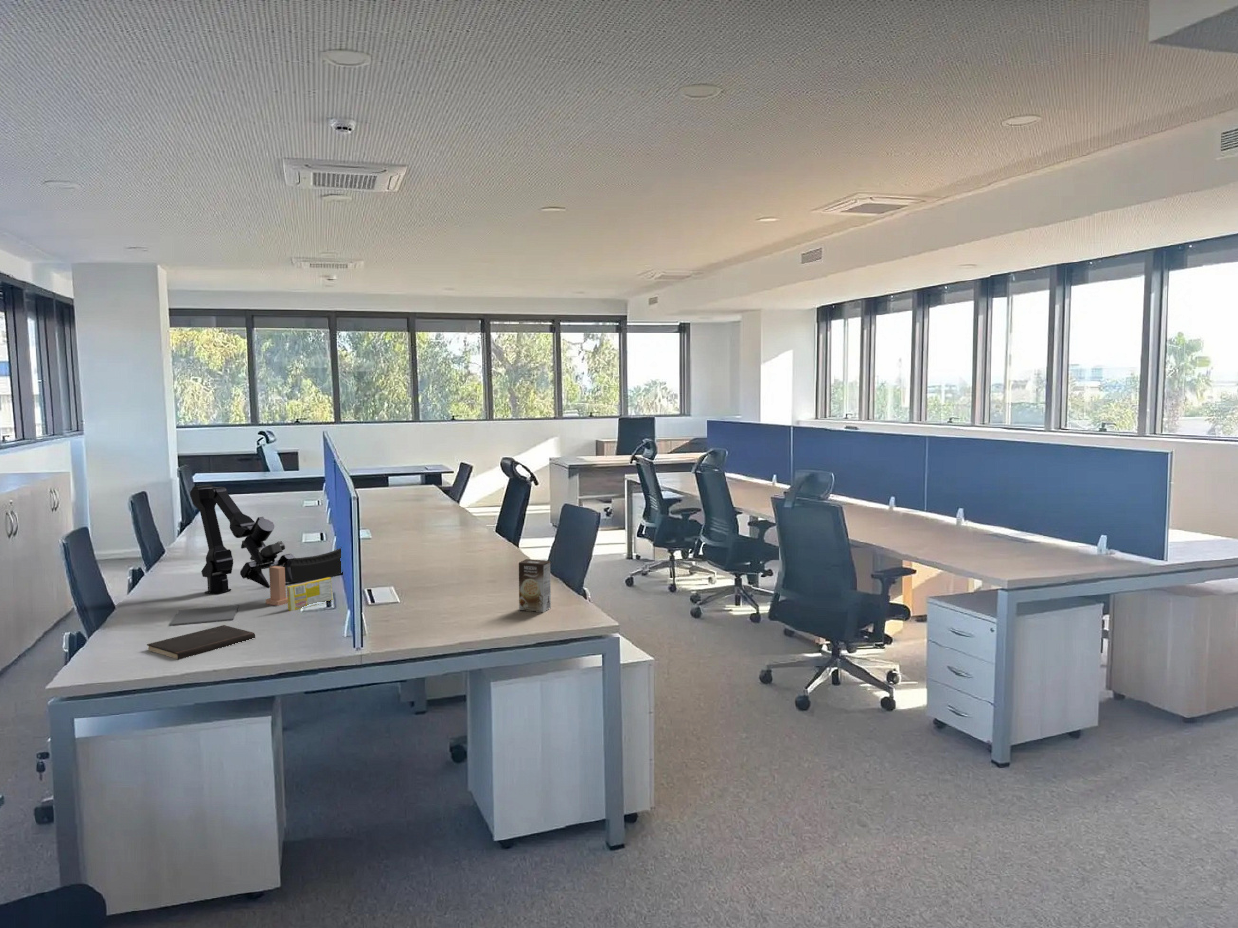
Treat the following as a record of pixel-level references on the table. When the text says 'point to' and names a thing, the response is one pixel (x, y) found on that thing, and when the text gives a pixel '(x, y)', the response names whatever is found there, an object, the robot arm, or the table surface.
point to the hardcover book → (200, 642)
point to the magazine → (316, 567)
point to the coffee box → (534, 585)
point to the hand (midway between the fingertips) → (280, 584)
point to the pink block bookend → (277, 586)
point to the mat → (204, 615)
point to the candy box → (309, 593)
